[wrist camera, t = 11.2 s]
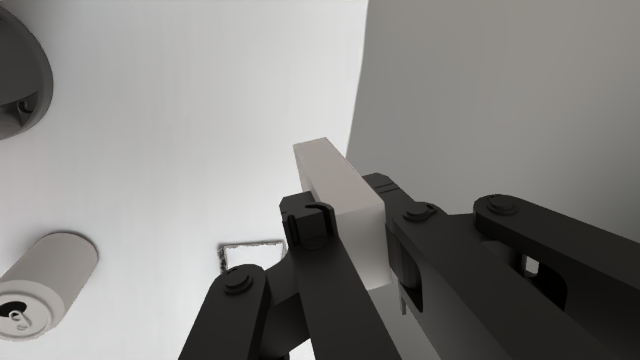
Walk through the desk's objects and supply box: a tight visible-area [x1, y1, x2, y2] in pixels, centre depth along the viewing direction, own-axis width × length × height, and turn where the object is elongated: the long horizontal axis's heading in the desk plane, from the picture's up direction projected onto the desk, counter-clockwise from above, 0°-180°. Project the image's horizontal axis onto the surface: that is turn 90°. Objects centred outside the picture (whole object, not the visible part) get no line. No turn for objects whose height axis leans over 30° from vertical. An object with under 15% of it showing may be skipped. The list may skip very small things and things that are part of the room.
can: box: [0, 233, 98, 342], centre depth 39 cm, size 8×8×12 cm
